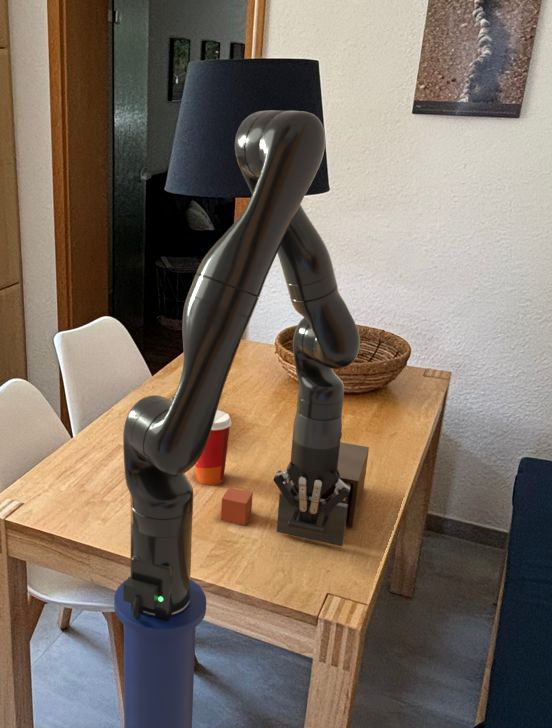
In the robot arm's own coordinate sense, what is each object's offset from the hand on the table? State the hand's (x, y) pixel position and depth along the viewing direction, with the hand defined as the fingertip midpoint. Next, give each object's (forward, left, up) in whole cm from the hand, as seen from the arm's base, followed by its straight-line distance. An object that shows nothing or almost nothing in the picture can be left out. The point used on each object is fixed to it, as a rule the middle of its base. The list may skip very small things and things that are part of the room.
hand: (307, 528), depth 131 cm
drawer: (+7, 0, -3) cm, 7 cm away
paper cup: (+18, +23, -5) cm, 29 cm away
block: (+6, +14, -4) cm, 16 cm away
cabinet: (+18, 0, -4) cm, 18 cm away
